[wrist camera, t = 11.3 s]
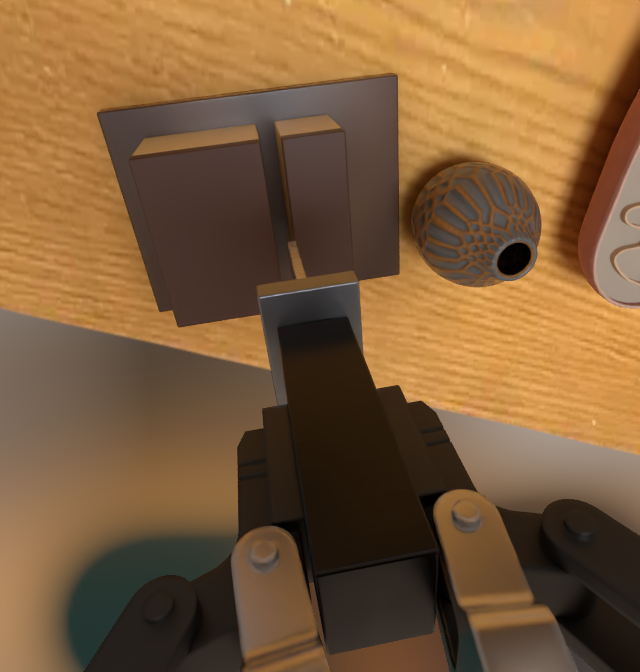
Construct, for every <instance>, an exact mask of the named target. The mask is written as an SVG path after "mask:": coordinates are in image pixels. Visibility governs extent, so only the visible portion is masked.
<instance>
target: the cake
mask: <svg viewBox="0 0 640 672" xmlns="http://www.w3.org/2000/svg"><path fill="white" fill-rule="evenodd" d="M128 162H129V165H130V168H131V172H132V175H133V178H134V182H135V185H136V188H137V192H138V195H139V198H140V202H141V205H142V208H143V212H144V215H145V219H146V222H147V225H148V229H149V232H150V235H151V239H152V242H153V245H154V249H155V252H156V255H157V259H158V262H159V265H160V269H161V272H162V275H163V279H164V282H165V286H166V289H167V292H168V296H169V299H170V302H171V306H172V309H173V312H174V316H175V319H176V322H177V326H178V327H184V326H191V325H197V324H203V323H209V322H215V321H222V320H228V319H234V318H240V317H247V316H253V315H259V314H260V309H259V304H258V299H257V289H256V287H257V286H258V285H263V284H270V283H276V282H281V275H280V269H279V262H278V256H277V249H276V243H275V236H274V230H273V223H272V217H271V210H270V204H269V198H268V191H267V185H266V178H265V172H264V165H263V159H262V152H261V146H260V141H259V137H258V133H257V129H256V125H255V124H249V125H241V126H233V127H226V128H218V129H210V130H203V131H195V132H187V133H180V134H172V135H165V136H157V137H149V138H144V139H143V141H142V142H141V144H140V145H139V146H138V148H137V149H136V150H135V152H134V153H133V155H132V156H131V157H130V158H129V160H128Z"/></svg>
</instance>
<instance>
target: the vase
mask: <svg viewBox="0 0 640 672" xmlns="http://www.w3.org/2000/svg"><path fill="white" fill-rule="evenodd" d="M412 234H413V238H414V242H415V245H416V247H417V249H418V251H419V253H420V255H421V257H422V258H423V259H424V261H425V262H426V263H427V265H428V266H429V267H430V268H431V269H432V270H433V271H434V272H436V273H437V274H438V275H440V276H441V277H443V278H445V279H447V280H449V281H451V282H453V283H456V284H459V285H463V286H468V287H486V286H492V285H496V284H499V283H501V282H504V281H514V280H517V279H519V278H521V277H523V276H525V275H526V274H527V273H528V272H529V271H530V270H531V269H532V267H533V266H534V264H535V262H536V259H537V246H538V243H539V240H540V235H541V215H540V211H539V207H538V204H537V202H536V200H535V198H534V196H533V194H532V192H531V191H530V190H529V188H528V187H527V185H526V184H525V183H524V182H523V181H522V180H521V179H520V178H519V177H517V176H516V175H515V174H513V173H512V172H510V171H508V170H506V169H504V168H502V167H500V166H497V165H494V164H490V163H485V162H466V163H461V164H457V165H453V166H451V167H448V168H446V169H444V170H443V171H441V172H439V173H438V174H437V175H435V176H434V177H433V178H432V179H431V180H430V181H428V183H427V184H426V185H425V186H424V187H423V189H422V190H421V192H420V194H419V195H418V197H417V200H416V202H415V205H414V209H413V213H412Z"/></svg>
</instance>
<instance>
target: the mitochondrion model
mask: <svg viewBox="0 0 640 672" xmlns="http://www.w3.org/2000/svg"><path fill="white" fill-rule="evenodd" d="M578 257H579V262H580V266H581V269H582V271H583V273H584V275H585V277H586V279H587V281H588V282H589V284H590V285H591V286H592V287H593V288H594V290H595V291H596V292H597V293H598V294H599V295H601V296H602V297H603V298H604V299H606V300H607V301H609V302H610V303H612V304H614V305H617V306H619V307H624V308H631V309H632V308H640V89H639V91H638V93H637V95H636V96H635V98H634V100H633V102H632V104H631V106H630V108H629V110H628V112H627V114H626V116H625V118H624V120H623V122H622V124H621V127H620V129H619V131H618V133H617V135H616V137H615V140H614V142H613V144H612V146H611V149H610V151H609V154H608V157H607V159H606V162H605V164H604V167H603V170H602V172H601V175H600V178H599V180H598V183H597V186H596V188H595V191H594V194H593V197H592V199H591V202H590V205H589V207H588V210H587V213H586V215H585V218H584V221H583V223H582V226H581V230H580V233H579V238H578Z"/></svg>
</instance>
